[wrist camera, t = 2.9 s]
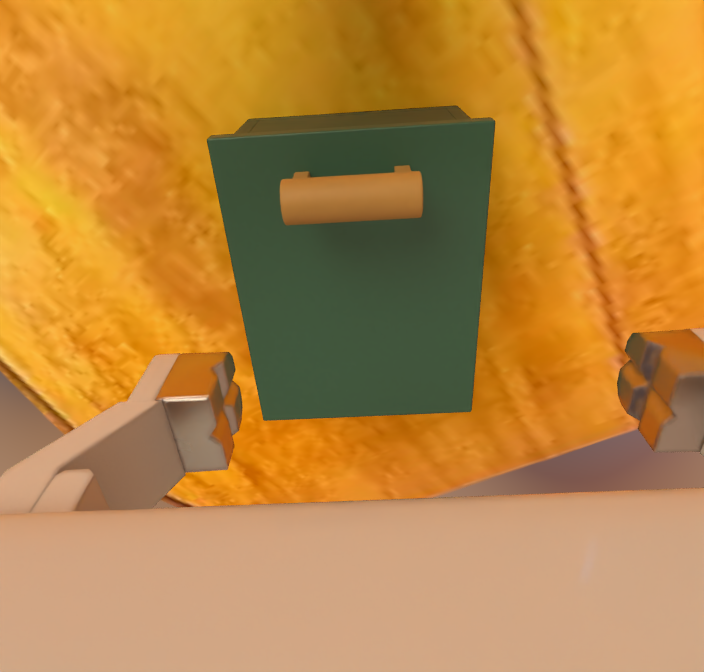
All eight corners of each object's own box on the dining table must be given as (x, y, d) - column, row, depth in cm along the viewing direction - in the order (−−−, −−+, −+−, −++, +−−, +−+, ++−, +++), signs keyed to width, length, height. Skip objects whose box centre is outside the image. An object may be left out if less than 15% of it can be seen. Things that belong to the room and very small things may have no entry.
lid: (210, 134, 23) (177, 162, 19) (491, 117, 23) (523, 141, 18) (265, 412, 32) (251, 473, 28) (469, 403, 31) (487, 464, 27)
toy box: (247, 119, 31) (214, 152, 24) (457, 105, 31) (490, 135, 23) (282, 336, 39) (265, 412, 32) (447, 328, 39) (469, 403, 32)
